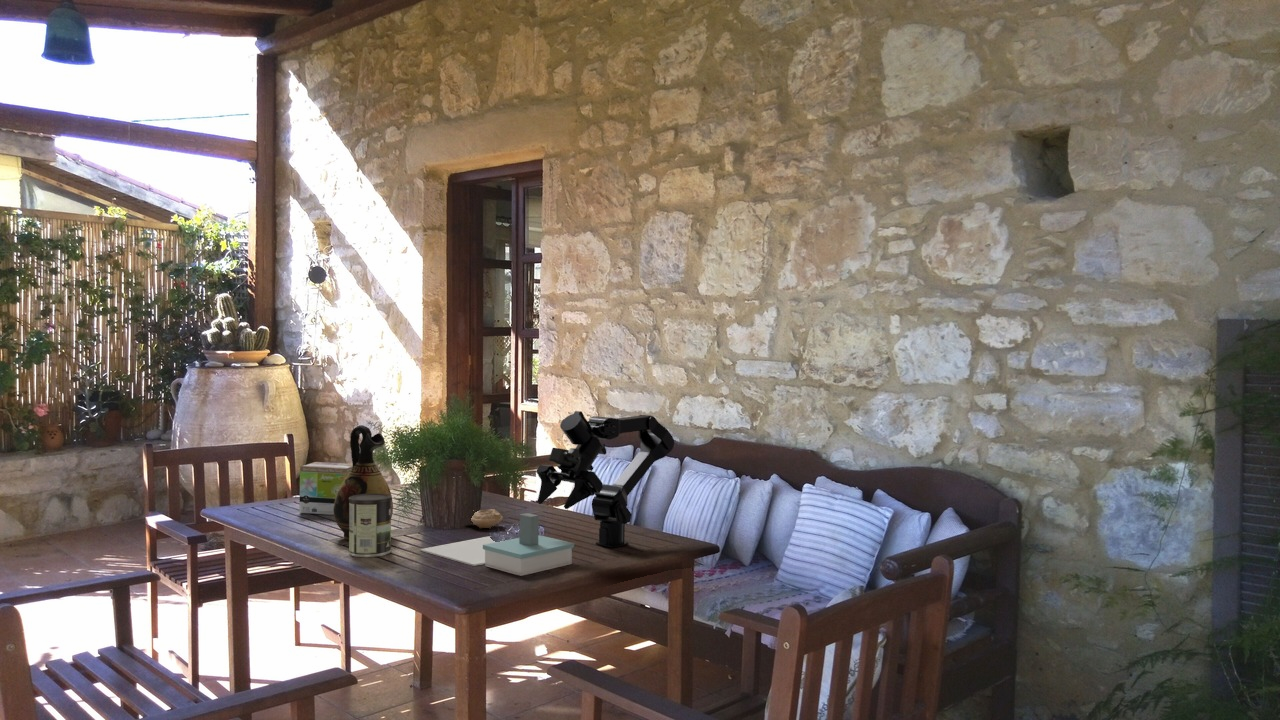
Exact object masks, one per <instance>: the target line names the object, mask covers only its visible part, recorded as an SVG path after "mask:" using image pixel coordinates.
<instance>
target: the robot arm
mask: <svg viewBox="0 0 1280 720" xmlns="http://www.w3.org/2000/svg"><path fill="white" fill-rule="evenodd" d="M559 427H560V429H561V431H562V432H563V433H564V435H565V436H566V438H567V439H568V441H569V442H570V443H571V444H572V445H577V446H576V447H574V448H573V447H570V448H569V449H565V448H559V447H552V449H551V452H550V454H549V456H548V461H550V462H554V463H555V464H557V465H556V467H557V469H559V470H560V471H558V470H557V469H556V468H555V467H554V465H550V464H540V465H539V466H538V467H537V469H536V470H535V472H536V474H537V476H538V477H539V479H540V481H541V482H540V489H539V493H538V497H537V504H539V505H541V504H543V503H544V502H545V501H546V500H547V499H548V498H549V497H550V496H551V495H552V494H554V492H556V491H557V490H558V486H560V485H561V483H562V482H567V483H571V484H574V485H573V486H574V487H573V488H572V490H571V492H570V493H569V496H568V497H567V499H566V501H565V502H564V505H563V508H564V509H565V510H569V509H570V508H571V507H573V506H575V505H576V504H578V503H580V502H581V501H583V500H585V499H587V498H590V497H591V496H592V497H593V496H594V497H593V498H592V501H591V509H592V513H593V517H594V521H600V522H599V528H598V531H599V532H598V541H595V545H599V546H603V547H607V548H611V549H612V548H618V547H621V546H626V545H627V546H628V545H629V544H630V542H628V541H625V538H626V537H625V536H626V535H625V534H626V533H625V530H626V529H625V525H628V523H630V522H631V519H632V517H633V516H632V513H631V512H630V510H629V509H628V507H627V506H628V497H629V495H630V494H631V492H632V491H633V490H634V488H635V487H636V486H637V485H638V483H640V481H641V479H642V478H644V476H645V474H646V473H647V472H648V471H649V469H650V468H652V467H651V466H653V465H654V463H655V462H657V461H659V460H662V459H663V458H666V457H667V456H668V455H669V454H670V453H671V452H672V451H673V449H674V448H675V447H674V446H675V440H674V437H673V435H672V434H671V432H670V430H668V429H667V428H666V427H665V426H664V425H662V424H661V423H660V422H659V420H657V419H656V417H655V416H653V415H648V414H639V415H635V416H626V417H618V418H615V417H605V416H595V415H594V416H591V417H589V419H586V417H585V415H584V414H583V411H580V410H575V411H574V412H573V413H571V414H569V415H568V416H566V417H564V418H562V420H561V422H560V424H559ZM634 432H638V438H639V440H640V445H639V447H640V448H639V449H640V450H639V452H638V453H637V454H636V456H634V458H633V459H632V461H631V462H630V463H629V464H628V466H627V467H625V469H624V470H623V472H622V473H621V474H620V475H619V476H618V477H617V478H616V480H615V481H614V483H613V484H605V483H603V482H602V480H601V479H600V478H599V476H598V475H597V474H596V472H595V471H593V469H594V466H593V463H594V461H595V460H596V459H597V457H598V456H599V454H600V455H604V456H605V455H607V448H606V444H605V443H602V442H601V440H609V441H610V440H613V439H616V438H619V437H620V435H621V434H626V433H634Z"/></svg>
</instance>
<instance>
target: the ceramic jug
mask: <svg viewBox="0 0 1280 720" xmlns="http://www.w3.org/2000/svg"><path fill="white" fill-rule="evenodd" d="M371 431H372V430H371V428H369V427H368V426H365V425H364V424H360V425H357V426H355V427H354V428H353V429H352V431H351V433H350V436H349V437H350V438H349V439H350V442H349V445H350V446H349V447H350V454H351V455H350V456H351V462H352V463H351V464H353V467H352V470H351V471H350V473H348V475H347V476H346V478H345V480H344V481H343V483H342V484H341V486H340V488H339V490H338V493H337V495H336V498H335V502H334V508H333V512H334V515H333V518H334V521H335V523H336V525H337V527H339V529H340V530H341V532H343V538H344V540H347V541H349V497H351V496H354V495H360V494H388V495H391V496H392V497H393V495H392V492H391V489H390V486H389V484H388V482H387V481H386V479H385V477H384V476H383V474H382V472H381V470H380V469H379V467H378V465H376V464H377V463H376V462H375V460H374V457H373V456H374V455H373V451H374V450H377V449H379V448H381V447H383V446H384V445H385V438H384V437H383V435H382V434H381V433H379V432H378V433H376V434H373V436H372V432H371ZM360 435H361V437H362V438H361V441H360V440H359V439H360ZM393 512H394V503H393V498H392V499H391V519H392V518H393Z"/></svg>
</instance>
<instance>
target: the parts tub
mask: <svg viewBox="0 0 1280 720" xmlns="http://www.w3.org/2000/svg"><path fill="white" fill-rule="evenodd" d="M572 550H573V549H572V548H569V549H564V550H560V551H555V552H551V553H546V554H542V555H537V556H532V557H528V558H523V559H519V558H515V557H511V556H507V555H503V554H500V553H496V552H492V551H488V550H485V564H484V567H488V568H490V569H491V568H492V569H495V570H499V571H502V572H506V573H509V574H513V575H516V576H521V577H522V576H526V575H531V574H534V573H540V572H543V571H547V570H552V569H556V568H560V567H565V566H567V565H572V561H573V560H572V559H573V555H572V554H573V552H572Z"/></svg>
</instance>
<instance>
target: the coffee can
mask: <svg viewBox="0 0 1280 720" xmlns="http://www.w3.org/2000/svg"><path fill="white" fill-rule="evenodd" d="M391 495H392V494H391ZM391 495H388V494H360V495H354V496H351V497H349V540H348V546H349V548H348V555H349V556H352V557H355V558H376V557H382V556H386V555H389V554H391V553H392V518H391V499H392V500H393V495H392V496H391Z"/></svg>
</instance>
